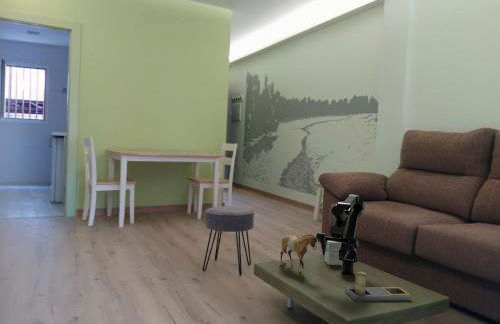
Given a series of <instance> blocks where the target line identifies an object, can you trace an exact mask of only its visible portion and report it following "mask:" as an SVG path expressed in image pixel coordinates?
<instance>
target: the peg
mask: <svg viewBox="0 0 500 324" xmlns="http://www.w3.org/2000/svg"><path fill="white" fill-rule="evenodd" d="M354 280H355V281H354V282H355V283H354V287H355V293H354V294H355V295H365V290H366V287H367V286H366V285H367V273H366V272H363V271H356V272H355V279H354Z"/></svg>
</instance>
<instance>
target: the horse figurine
mask: <svg viewBox="0 0 500 324" xmlns="http://www.w3.org/2000/svg"><path fill="white" fill-rule="evenodd" d="M317 242H318V240H317V238H316V236H314V235H313V234H306V235H305V234H304V235H303V236H301V237H299V238H297V235H294V234H287V235H285V236H283V238H282V240H281V251H280V259H279V261H280V262H279V264H280V266H283V265H284V262H283V255H284V254H286V255H288V256H289V260H290V266H291V267H294V260H293V258H292V254H291V253H292V252H294V253H296V255H297V257H298V259H299V265H298V268H299V272H300V273H301V276H302V277H305V268H304V267H305V265H304V264H305V263H304V261H303V258H304V257H305V255H306V253H307V252H308V246H309V245H310V246H311V248H312V250H313V251H317V249H318V248H317ZM287 248H288V249H289V250H287Z"/></svg>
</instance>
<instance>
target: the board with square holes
mask: <svg viewBox="0 0 500 324" xmlns="http://www.w3.org/2000/svg"><path fill="white" fill-rule="evenodd" d="M344 289H345V290H344V291H345V293H346V294H347V295H348V296H349V297H350V298H351V299H352V300H353V301H354V302H389V301H390V302H401V301H402V302H403V301H404V302H406V301H407V302H411V301H412V295H411V294H410V293H409V292H407V291H406V290H404V289H403V288H402V287H400V286H366V290H365V295H355V286H354V287H353V286H350V287H349V286H346V287H345V288H344Z"/></svg>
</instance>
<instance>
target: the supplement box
mask: <svg viewBox="0 0 500 324" xmlns="http://www.w3.org/2000/svg"><path fill="white" fill-rule="evenodd" d="M326 244H327V246H326V251H325V255H324V262H326V264H327V265H328V266H342V260H339V249H340V248H341V243H340V242H334V241H327V242H326Z"/></svg>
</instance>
